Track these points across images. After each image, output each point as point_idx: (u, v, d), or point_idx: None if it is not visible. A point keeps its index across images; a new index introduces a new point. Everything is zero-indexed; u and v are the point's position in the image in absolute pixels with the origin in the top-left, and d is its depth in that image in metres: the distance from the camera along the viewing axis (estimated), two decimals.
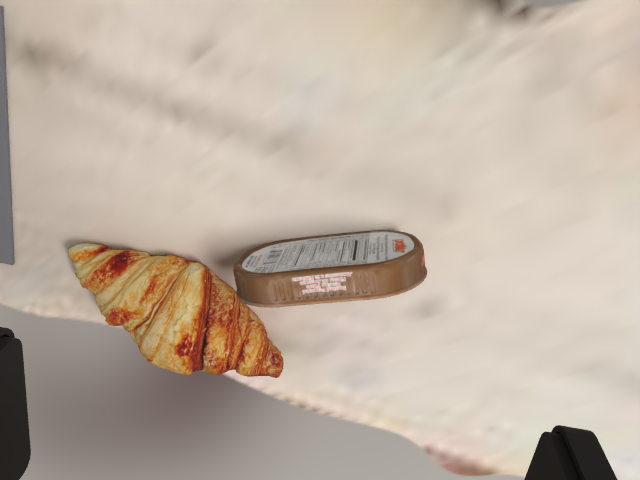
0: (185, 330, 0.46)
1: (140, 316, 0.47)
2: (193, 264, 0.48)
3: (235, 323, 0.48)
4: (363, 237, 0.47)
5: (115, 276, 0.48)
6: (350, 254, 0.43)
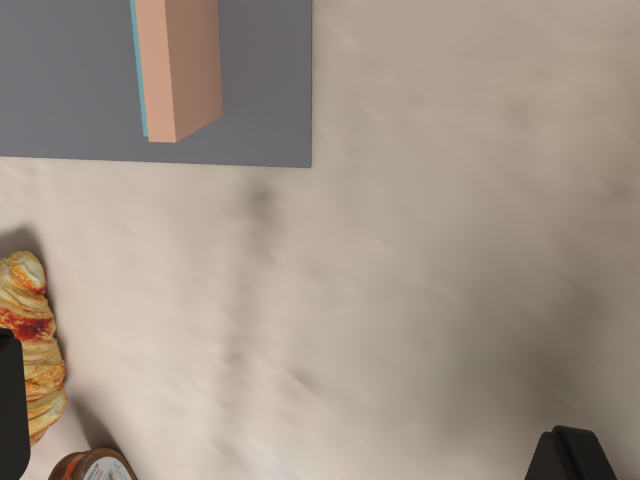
0: None
1: None
2: (62, 398, 0.41)
3: None
4: None
5: None
6: None
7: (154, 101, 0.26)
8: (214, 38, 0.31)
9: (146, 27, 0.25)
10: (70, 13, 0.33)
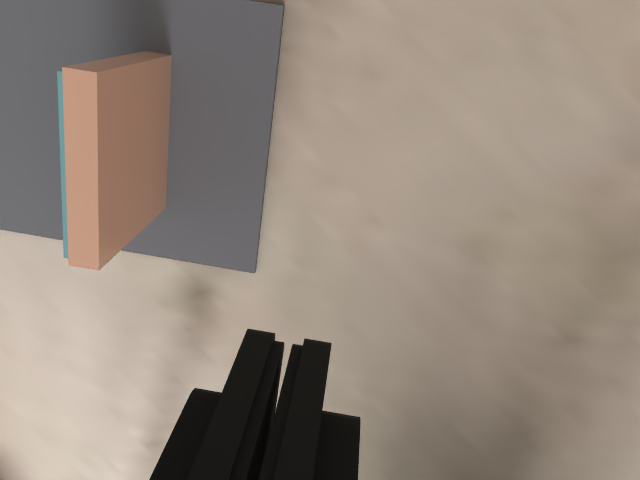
0: None
1: None
2: None
3: None
4: None
5: None
6: None
7: (78, 226, 0.23)
8: (162, 134, 0.29)
9: (75, 151, 0.22)
10: (5, 81, 0.29)
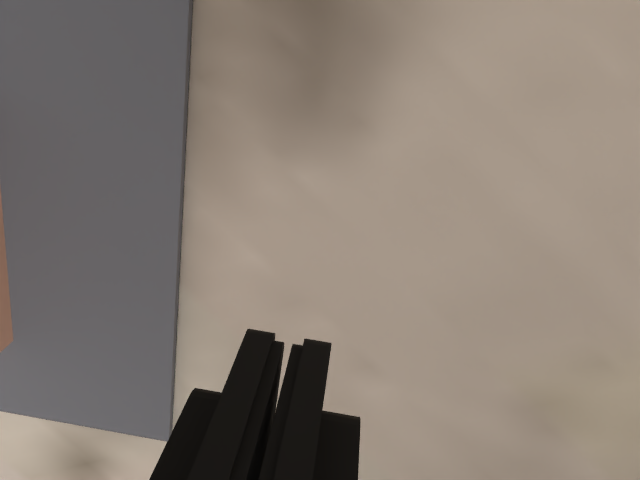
0: None
1: None
2: None
3: None
4: None
5: None
6: None
7: None
8: None
9: None
10: None
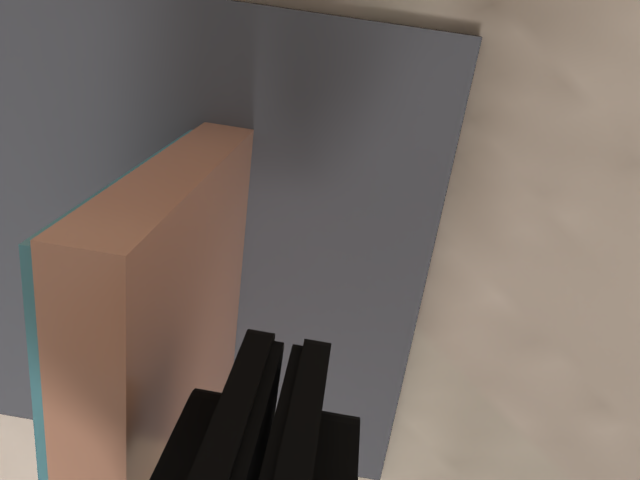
0: None
1: None
2: None
3: None
4: None
5: None
6: None
7: None
8: (234, 272, 0.16)
9: (69, 426, 0.09)
10: None
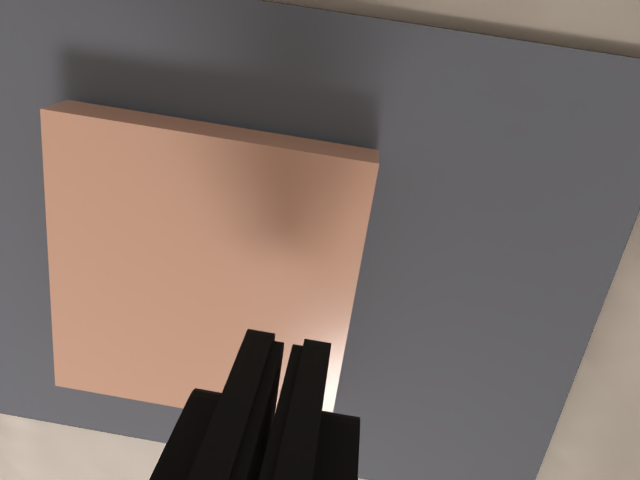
0: None
1: None
2: None
3: None
4: None
5: None
6: None
7: None
8: (317, 298, 0.15)
9: None
10: None
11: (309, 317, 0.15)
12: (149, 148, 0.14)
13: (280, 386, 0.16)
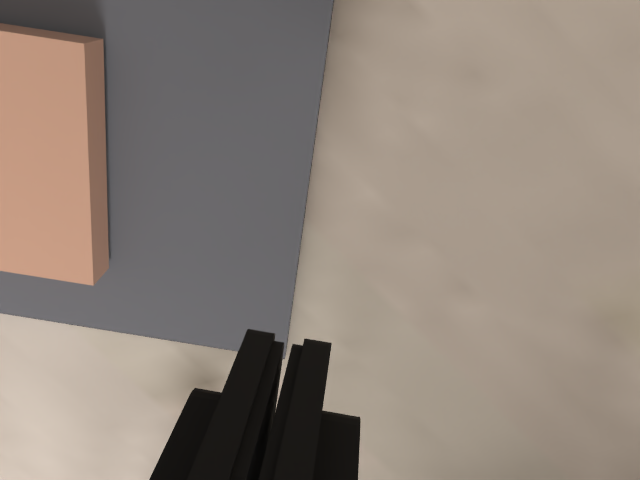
0: None
1: None
2: None
3: None
4: None
5: None
6: None
7: None
8: (60, 163, 0.18)
9: None
10: None
11: (57, 180, 0.18)
12: None
13: (46, 243, 0.19)
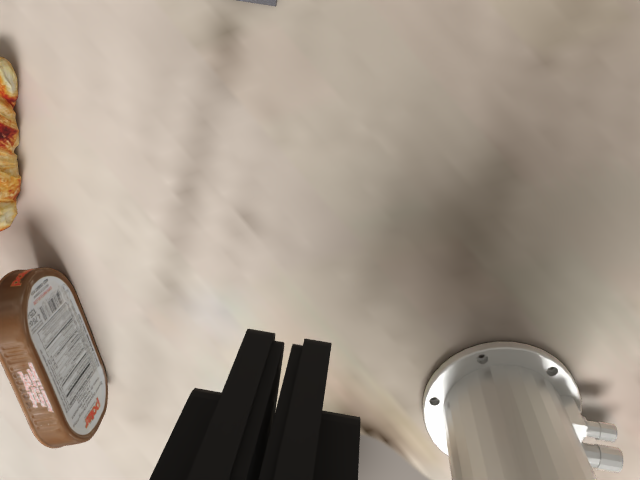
0: None
1: None
2: (13, 210, 0.43)
3: None
4: (94, 364, 0.49)
5: None
6: (72, 382, 0.45)
7: None
8: None
9: None
10: None
11: None
12: None
13: None
